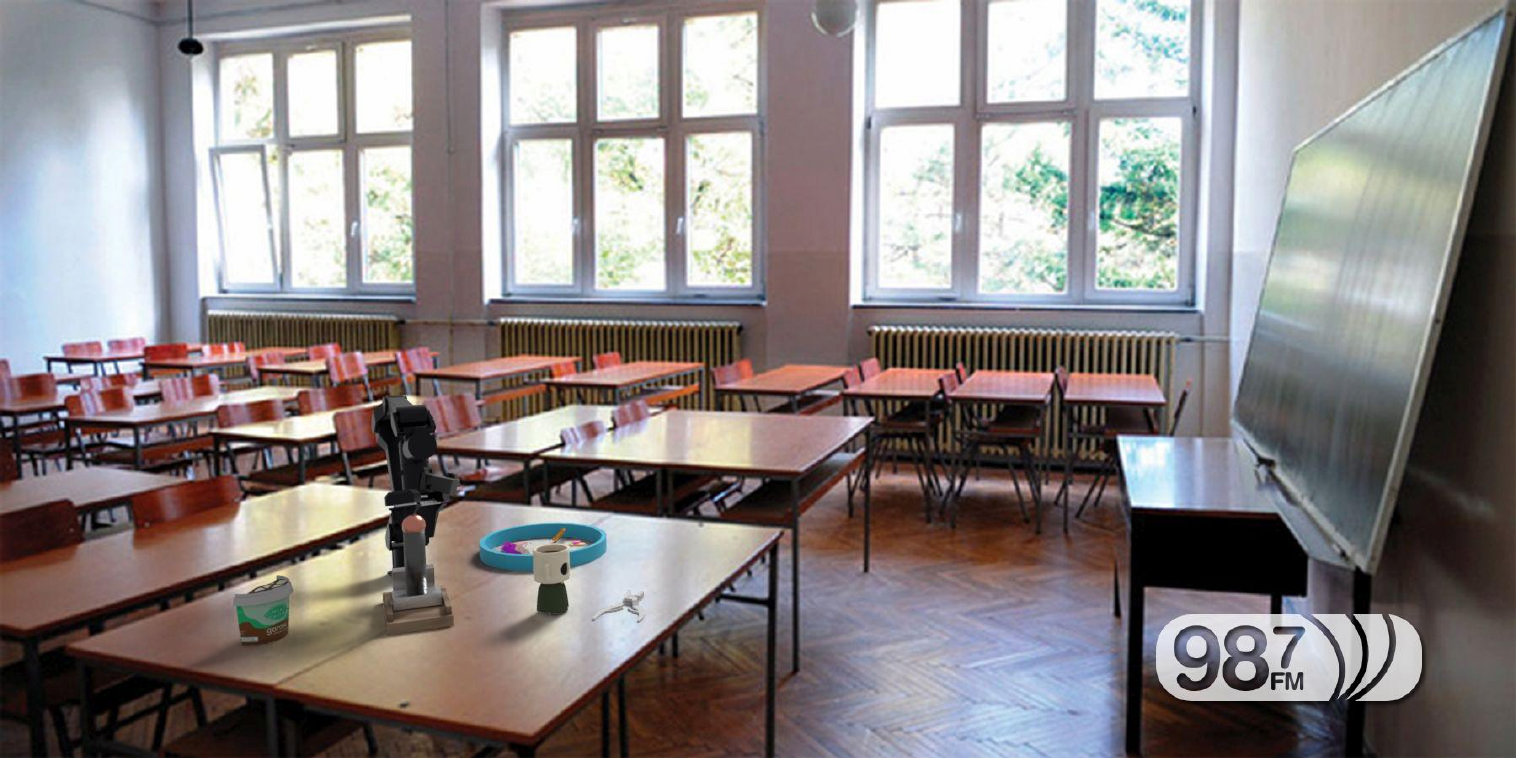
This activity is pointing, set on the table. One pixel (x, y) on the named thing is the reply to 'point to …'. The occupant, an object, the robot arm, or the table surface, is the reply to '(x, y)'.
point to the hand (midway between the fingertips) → (421, 538)
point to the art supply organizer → (521, 557)
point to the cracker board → (416, 616)
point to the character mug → (551, 577)
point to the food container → (264, 612)
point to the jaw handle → (415, 569)
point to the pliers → (628, 601)
